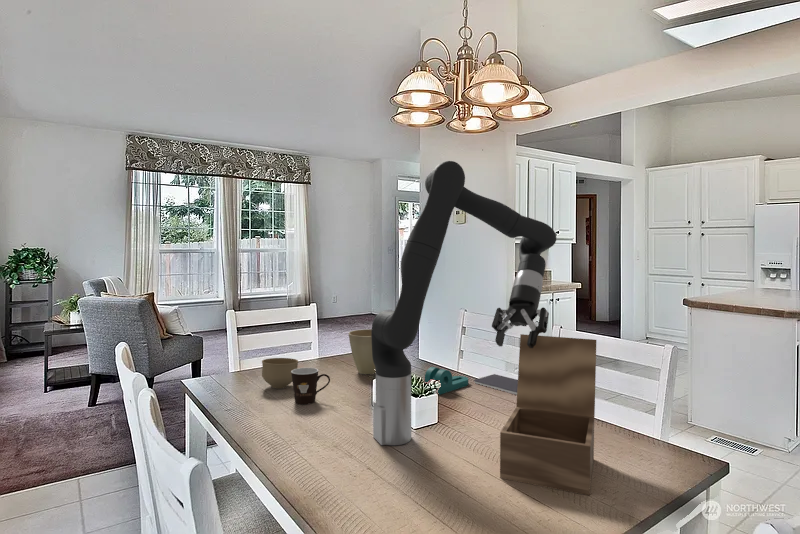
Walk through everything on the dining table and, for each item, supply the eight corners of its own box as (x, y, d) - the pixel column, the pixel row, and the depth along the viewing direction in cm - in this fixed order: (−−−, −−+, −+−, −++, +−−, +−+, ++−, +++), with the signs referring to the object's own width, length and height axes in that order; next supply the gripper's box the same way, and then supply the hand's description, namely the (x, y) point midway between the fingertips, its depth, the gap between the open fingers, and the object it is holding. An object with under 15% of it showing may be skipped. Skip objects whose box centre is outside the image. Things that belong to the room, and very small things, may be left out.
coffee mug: (286, 403, 153) (285, 372, 152) (301, 396, 161) (301, 366, 160) (317, 408, 149) (317, 376, 148) (331, 400, 156) (331, 369, 156)
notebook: (543, 390, 168) (494, 377, 184) (543, 386, 168) (494, 373, 184) (522, 398, 160) (472, 384, 176) (522, 393, 160) (472, 380, 176)
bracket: (439, 395, 162) (439, 372, 162) (424, 391, 167) (424, 368, 166) (472, 384, 174) (472, 363, 174) (457, 380, 179) (457, 360, 179)
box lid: (516, 406, 120) (517, 406, 121) (594, 417, 112) (594, 416, 113) (520, 334, 123) (521, 334, 124) (596, 339, 116) (596, 340, 117)
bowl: (306, 385, 173) (305, 358, 172) (279, 395, 162) (279, 365, 162) (281, 380, 180) (280, 354, 179) (254, 389, 169) (253, 360, 168)
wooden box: (516, 446, 120) (516, 406, 120) (593, 459, 113) (594, 417, 112) (500, 477, 104) (500, 432, 103) (589, 495, 96) (590, 446, 96)
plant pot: (341, 372, 191) (340, 332, 190) (370, 365, 201) (370, 327, 201) (364, 379, 180) (364, 337, 180) (394, 372, 190) (394, 332, 190)
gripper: (496, 284, 131) (482, 338, 124) (546, 282, 122) (535, 340, 114) (508, 298, 135) (495, 351, 128) (557, 297, 126) (547, 354, 119)
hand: (514, 346), depth 121 cm, fingers open, 8 cm apart
